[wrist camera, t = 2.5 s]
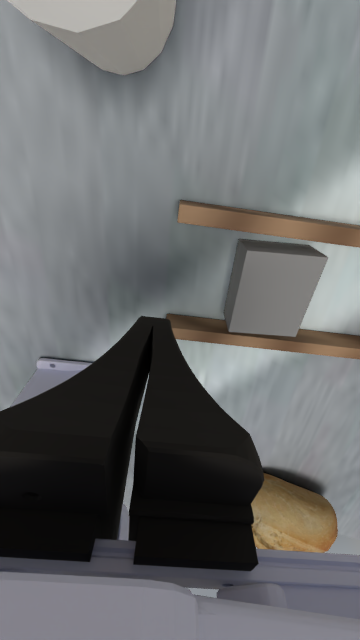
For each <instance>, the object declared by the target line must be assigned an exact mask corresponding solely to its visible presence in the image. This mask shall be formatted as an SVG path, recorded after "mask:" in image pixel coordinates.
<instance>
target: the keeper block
mask: <svg viewBox="0 0 360 640" xmlns="http://www.w3.org/2000/svg"><path fill="white" fill-rule="evenodd" d="M327 260H328V257H327V256H325V255H324V254H322V253H320V252H319V251H317V250H316V249H314V248H313V247H311V246H310V245H303V244H291V243H280V242H268V241H257V240H246V239H239V240H238V245H237V250H236V254H235V259H234V264H233V269H232V274H231V279H230V284H229V289H228V293H227V298H226V303H225V308H224V316H225V320H226V324H227V328H228V331H229V332H238V333H251V334H264V335H278V336H291V337H296V335H297V332H298V330H299V327H300V325H301V322H302V320H303V318H304V315H305V313H306V310H307V308H308V306H309V303H310V301H311V298H312V296H313V293H314V291H315V289H316V286H317V284H318V281H319V279H320V277H321V274H322V272H323V269H324V267H325V264H326V262H327Z"/></svg>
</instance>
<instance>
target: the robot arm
mask: <svg viewBox="0 0 360 640" xmlns="http://www.w3.org/2000/svg"><path fill="white" fill-rule="evenodd" d="M53 364H54V365H53ZM36 365H37V370H36V371H35V373H34V374H33V376H32V377H31V378H30V380H29V381H28V383H27V384H26V385H25V387H24V388H23V390H22V391H21V392H20V394H19V395H18V396H17V398H16V399H15V401H14V402H13V403H12V405H11V406H10V408H7V409H5V410H2V411H0V640H360V555H350V554H333V553H318V552H302V551H286V550H271V549H256V547H255V542H254V536H253V531H252V526H251V525H253V523H254V516H253V511H252V506H251V503H252V501H253V500H254V498H255V497H256V495H257V494H258V492H259V490H260V489H261V487H262V485H263V482H264V474H263V470H262V465H261V462H260V459H259V456H258V453H257V451H256V448H255V446H254V443H253V441H252V438H251V436H250V434H249V433H248V432H247V431H246V430H245V429H243V428H242V427H241V426H240V425H239V424H238V423H237V422H236V421H234V420H233V419H232V418H231V417H230V416H229V415H228V414H227V413H226V412H225V411H224V410H223V409H222V408H221V407H220V406H219V405H218V404H217V403H216V402H215V401H214V399H213V398H212V397H211V396H210V395H209V394H208V392H207V391H206V390H205V389H204V388H203V386H202V385H201V384H200V382H199V381H198V379H197V378H196V377H195V375H194V374H193V372H192V371H191V369H190V367H189V366H188V364H187V362H186V360H185V359H184V357H183V355H182V353H181V351H180V349H179V346H178V344H177V342H176V339H175V337H174V334H173V331H172V327H171V321H170V320H169V319H163V318H154V317H145V316H141V317H140V318H138V320H137V321H136V322H135V324H134V325H133V326H132V327H131V328H130V330H129V331H128V332H127V333H126V334H125V335H124V336H123V337H122V338H121V339H120V340H119V341H118V342H117V343H116V344H115V345H114V346H113V347H112V348H111V349H109V350H108V351H107V352H106V353H105V354H104V355H103V356H101V357H100V358H99V359H98V360H96V361H95V362H94V363H85V362H76V361H66V360H56V359H47V358H40V359H38V361H37V362H36ZM148 375H149V379H148V384H147V389H146V394H145V398H144V403H143V408H142V412H141V417H140V421H139V426H138V430H137V434H136V445H135V463H134V482H133V490H132V496H131V502H130V509H129V515H128V510H127V507H126V506H125V505H124V504H123V498H124V492H125V486H126V479H127V473H128V467H129V461H130V455H131V449H132V443H133V437H134V431H135V425H136V420H137V416H138V412H139V408H140V405H141V401H142V397H143V393H144V390H145V386H146V382H147V378H148ZM184 587H186V588H184ZM187 588H204V589H219V591H218V592H217V598H212V597H206V596H200V595H193V594H192V593H191V591H190V590H189V589H187Z"/></svg>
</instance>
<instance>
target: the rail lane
mask: <svg viewBox="0 0 360 640" xmlns="http://www.w3.org/2000/svg"><path fill="white" fill-rule="evenodd" d="M178 223H186V224H193V225H200V226H207V227H215V228H222V229H229V230H236V231H244V232H251V233H258V234H265V235H273V236H280V237H287V238H294V239H302V240H309V241H316V242H323V243H331V244H338V245H345V246H352V247H360V226H359V225H352V224H345V223H338V222H331V221H324V220H317V219H310V218H303V217H296V216H289V215H282V214H275V213H268V212H261V211H254V210H247V209H240V208H233V207H226V206H219V205H212V204H205V203H198V202H191V201H184V200H180V204H179V213H178ZM166 319H169V320H170V321H171V327H172V331H173V334H174V337H175V339H181V340H190V341H199V342H208V343H217V344H226V345H235V346H244V347H253V348H262V349H271V350H281V351H290V352H299V353H308V354H317V355H326V356H335V357H344V358H353V359H360V336H355V335H346V334H338V333H329V332H320V331H312V330H303V329H299V330H298V332H297V335H296V337H291V336H278V335H264V334H251V333H238V332H229V331H228V328H227V324H226V320H217V319H209V318H200V317H191V316H183V315H174V314H167V317H166Z"/></svg>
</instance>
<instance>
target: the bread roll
mask: <svg viewBox="0 0 360 640" xmlns="http://www.w3.org/2000/svg"><path fill="white" fill-rule="evenodd" d="M263 474H264V482H263V485H262V487H261V489H260V490H259V492H258V494H257V495H256V497H255V498H254V500H253V501H252V503H251V506H252V511H253V516H254V523H253V525H251V526H252V531H253V536H254V542H255V546H256V547H257V548H258V549H271V550H286V551H302V552H318V553H324V552H325V551H328V550H329V549H330V547H331V545H332V544H333V543H334V541H335V539H336V537H337V532H338V530H337V518H336V514H335V511H334V509H333V507H332V506H331V504H330V503H329V502H328V500H327V499H325V498H324V497H323V496H321V495H319V494H317V493H314V492H312V491H309V490H307V489H304V488H301V487H299V486H296V485H294V484H291V483H288V482H286V481H284V480H282V479H279V478H277V477H275V476H272V475H269V474H266V473H263Z"/></svg>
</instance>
